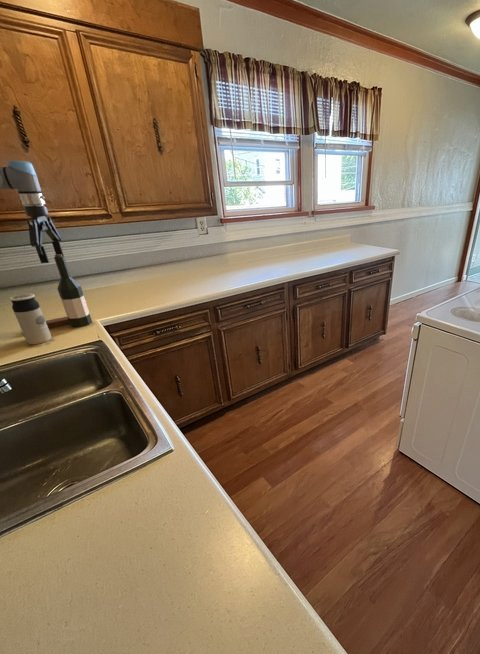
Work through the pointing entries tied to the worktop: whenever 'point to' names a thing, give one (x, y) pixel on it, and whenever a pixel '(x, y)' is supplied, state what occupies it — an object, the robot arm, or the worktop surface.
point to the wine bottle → (72, 296)
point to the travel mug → (30, 318)
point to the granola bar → (57, 322)
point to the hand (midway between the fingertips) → (53, 259)
